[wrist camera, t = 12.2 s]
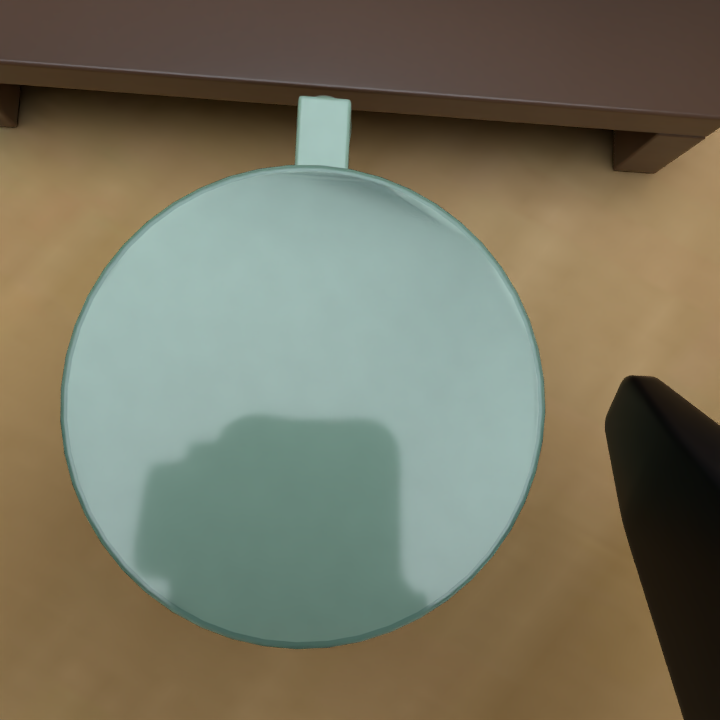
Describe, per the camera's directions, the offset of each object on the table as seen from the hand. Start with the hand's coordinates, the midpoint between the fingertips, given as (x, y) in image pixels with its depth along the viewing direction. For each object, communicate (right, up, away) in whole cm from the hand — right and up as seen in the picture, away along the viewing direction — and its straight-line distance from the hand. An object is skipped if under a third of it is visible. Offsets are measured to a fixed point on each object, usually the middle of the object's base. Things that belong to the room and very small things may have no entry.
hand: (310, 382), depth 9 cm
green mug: (-1, -1, +8) cm, 8 cm away
